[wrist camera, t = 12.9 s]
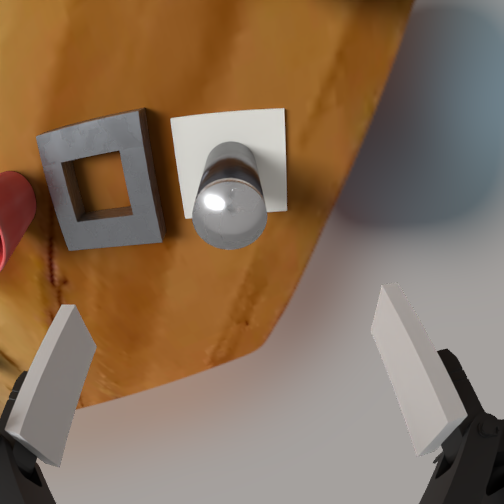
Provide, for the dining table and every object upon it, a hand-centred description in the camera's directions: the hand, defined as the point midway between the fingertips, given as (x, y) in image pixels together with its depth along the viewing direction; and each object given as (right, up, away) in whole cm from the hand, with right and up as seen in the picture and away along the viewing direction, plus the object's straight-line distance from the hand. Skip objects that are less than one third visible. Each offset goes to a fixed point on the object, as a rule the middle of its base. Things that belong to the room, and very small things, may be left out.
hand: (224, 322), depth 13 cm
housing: (-15, +11, +19) cm, 26 cm away
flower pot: (-29, +10, +19) cm, 36 cm away
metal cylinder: (-1, +12, +19) cm, 22 cm away
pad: (-1, +12, +19) cm, 22 cm away
